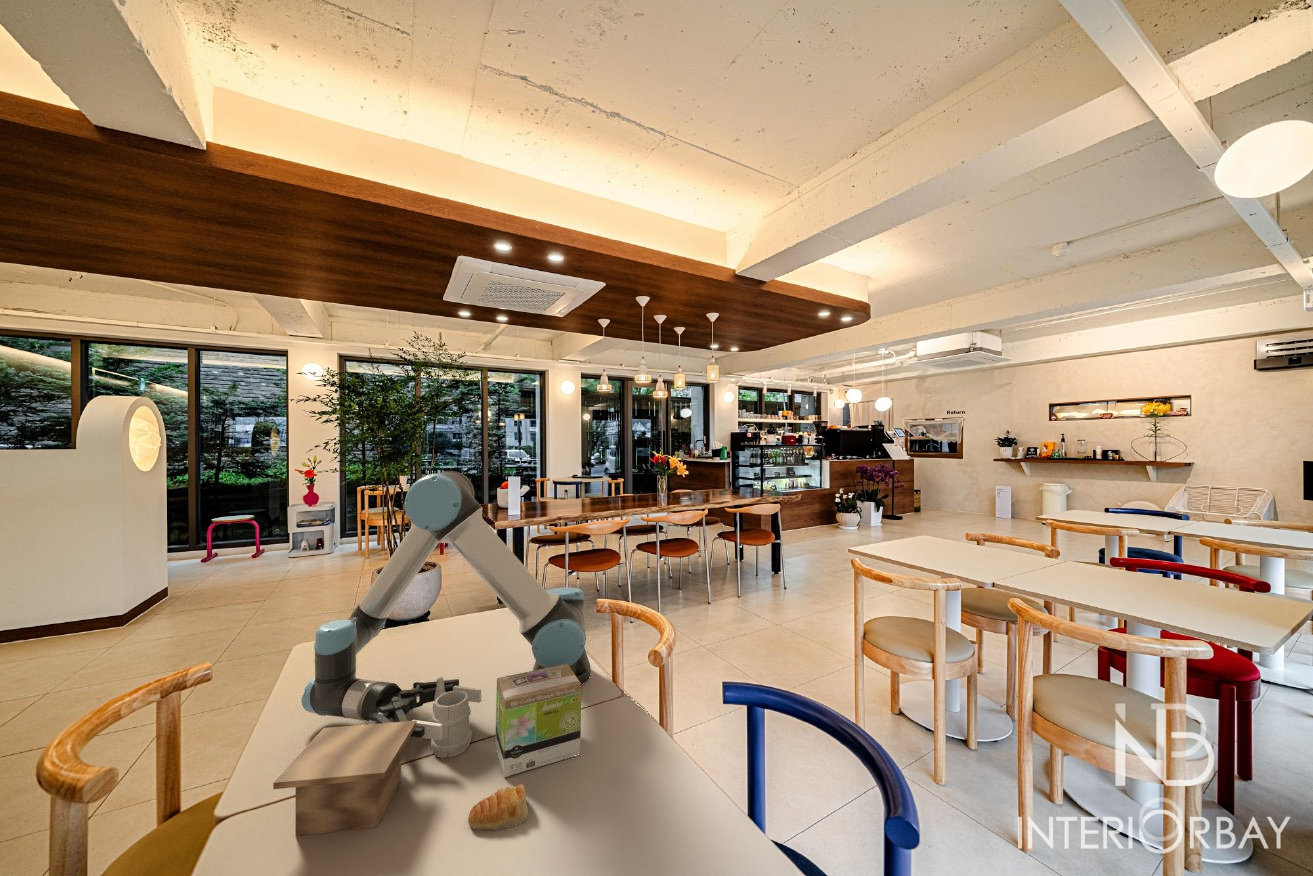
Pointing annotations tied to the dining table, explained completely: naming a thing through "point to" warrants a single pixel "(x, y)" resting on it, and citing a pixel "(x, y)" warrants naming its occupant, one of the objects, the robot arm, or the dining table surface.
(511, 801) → the pastry
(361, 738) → the walnut stand
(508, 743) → the tea box
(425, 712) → the dining table surface
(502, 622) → the dining table surface
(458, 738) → the mug
